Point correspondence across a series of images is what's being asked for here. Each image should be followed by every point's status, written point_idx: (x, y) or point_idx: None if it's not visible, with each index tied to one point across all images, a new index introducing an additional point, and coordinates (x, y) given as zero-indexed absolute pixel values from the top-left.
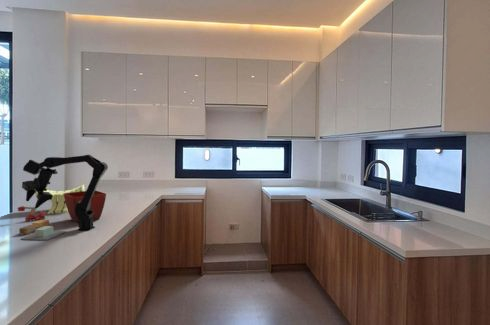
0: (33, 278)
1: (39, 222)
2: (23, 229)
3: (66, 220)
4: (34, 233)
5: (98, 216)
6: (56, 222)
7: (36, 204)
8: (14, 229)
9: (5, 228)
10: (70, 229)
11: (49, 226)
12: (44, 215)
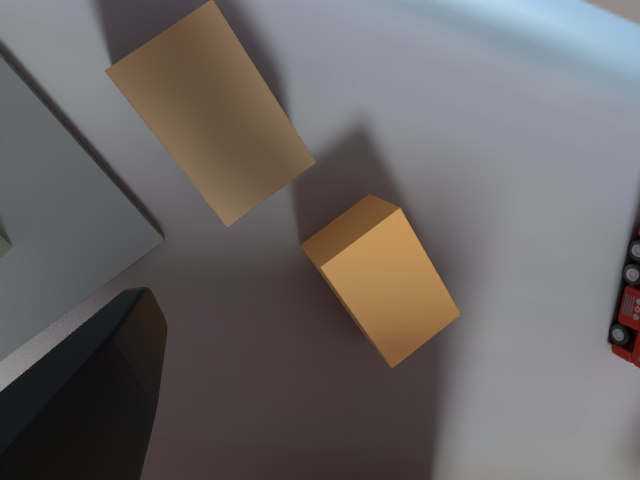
0: None
1: (352, 272)
2: (156, 36)
3: (428, 476)
4: (68, 141)
5: None
6: (427, 404)
7: (20, 386)
8: (481, 59)
9: (585, 11)
10: None
11: None
12: (638, 364)
